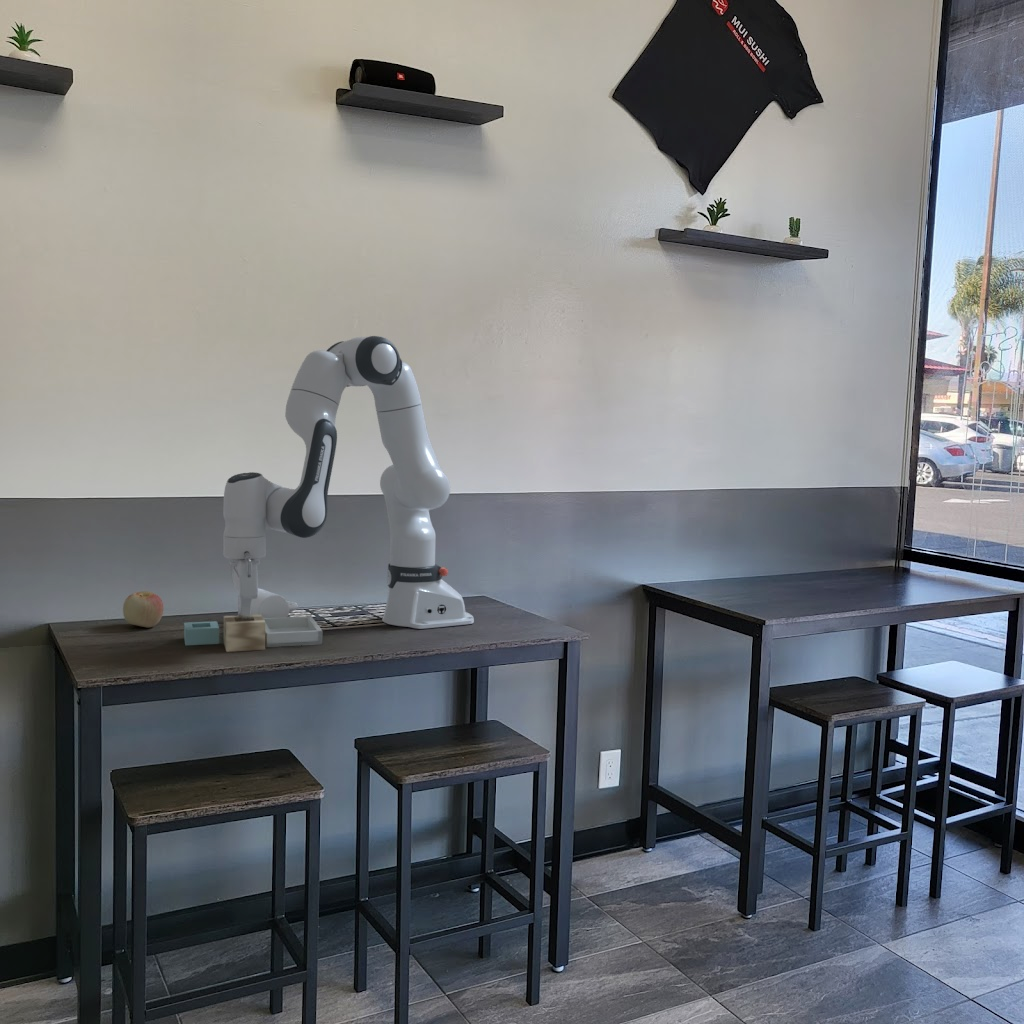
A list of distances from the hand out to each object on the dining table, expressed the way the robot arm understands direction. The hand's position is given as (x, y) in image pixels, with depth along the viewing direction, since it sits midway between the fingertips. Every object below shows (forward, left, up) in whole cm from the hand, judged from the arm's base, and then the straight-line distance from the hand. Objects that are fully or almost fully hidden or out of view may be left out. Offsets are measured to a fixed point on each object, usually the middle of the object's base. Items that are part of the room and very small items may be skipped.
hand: (244, 612), depth 214 cm
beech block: (0, 0, -8) cm, 8 cm away
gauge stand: (+9, -7, -8) cm, 13 cm away
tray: (-10, -6, -8) cm, 14 cm away
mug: (-8, -22, -8) cm, 25 cm away
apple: (+21, -24, -8) cm, 33 cm away
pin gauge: (0, 0, -6) cm, 6 cm away
